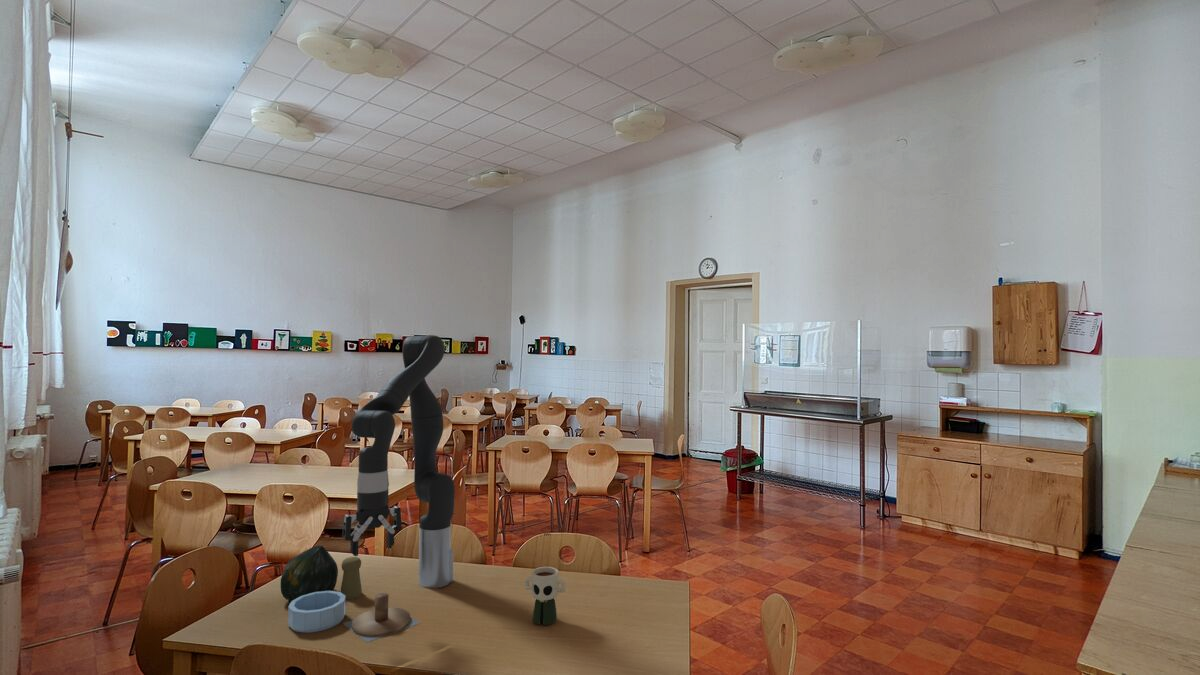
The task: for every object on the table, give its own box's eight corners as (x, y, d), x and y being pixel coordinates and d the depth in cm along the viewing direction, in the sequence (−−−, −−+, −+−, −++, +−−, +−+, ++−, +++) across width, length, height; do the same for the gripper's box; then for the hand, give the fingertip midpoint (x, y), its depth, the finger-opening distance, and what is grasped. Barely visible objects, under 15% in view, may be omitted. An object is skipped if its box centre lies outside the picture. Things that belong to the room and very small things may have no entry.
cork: (354, 602, 166) (354, 562, 166) (334, 600, 167) (335, 561, 167) (366, 593, 172) (367, 555, 172) (348, 591, 173) (348, 553, 173)
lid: (394, 606, 162) (394, 580, 162) (420, 623, 152) (420, 595, 152) (342, 623, 152) (343, 595, 152) (366, 642, 142) (367, 612, 142)
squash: (261, 580, 167) (289, 544, 164) (306, 565, 180) (332, 531, 177) (287, 622, 162) (316, 585, 159) (331, 602, 176) (358, 569, 173)
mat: (394, 608, 162) (394, 606, 162) (420, 625, 152) (420, 623, 152) (342, 625, 152) (342, 623, 152) (366, 644, 142) (366, 642, 142)
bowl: (332, 607, 162) (333, 587, 162) (353, 623, 153) (353, 601, 153) (281, 623, 153) (281, 601, 153) (299, 640, 144) (300, 617, 144)
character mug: (520, 625, 152) (520, 574, 152) (528, 613, 159) (529, 565, 159) (561, 629, 150) (561, 578, 150) (568, 617, 157) (568, 568, 157)
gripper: (394, 481, 160) (394, 542, 159) (339, 489, 151) (339, 553, 150) (405, 486, 154) (405, 549, 154) (348, 495, 145) (348, 562, 145)
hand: (372, 551), depth 152 cm, fingers open, 8 cm apart
